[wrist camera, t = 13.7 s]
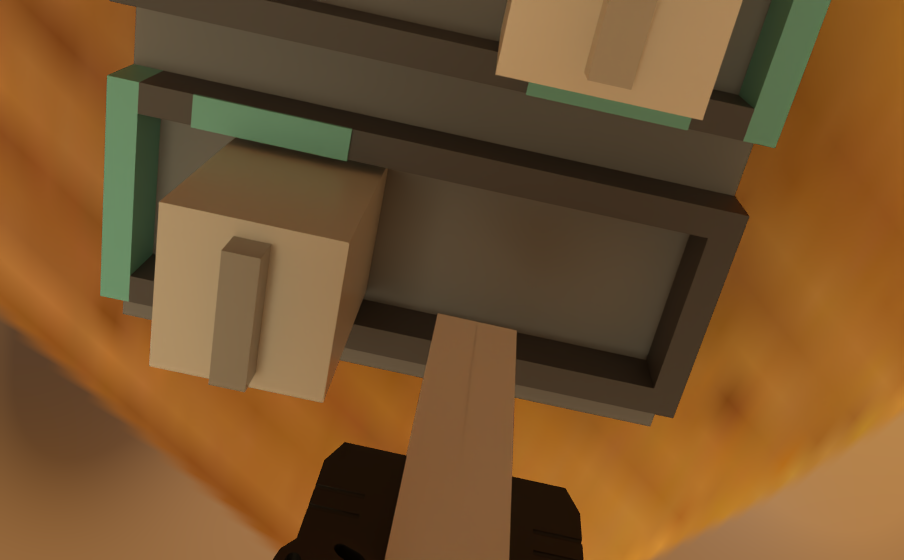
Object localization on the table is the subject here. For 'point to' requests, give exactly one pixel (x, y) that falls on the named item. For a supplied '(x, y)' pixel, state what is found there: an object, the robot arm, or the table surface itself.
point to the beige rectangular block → (620, 49)
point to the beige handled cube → (264, 267)
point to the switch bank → (466, 177)
